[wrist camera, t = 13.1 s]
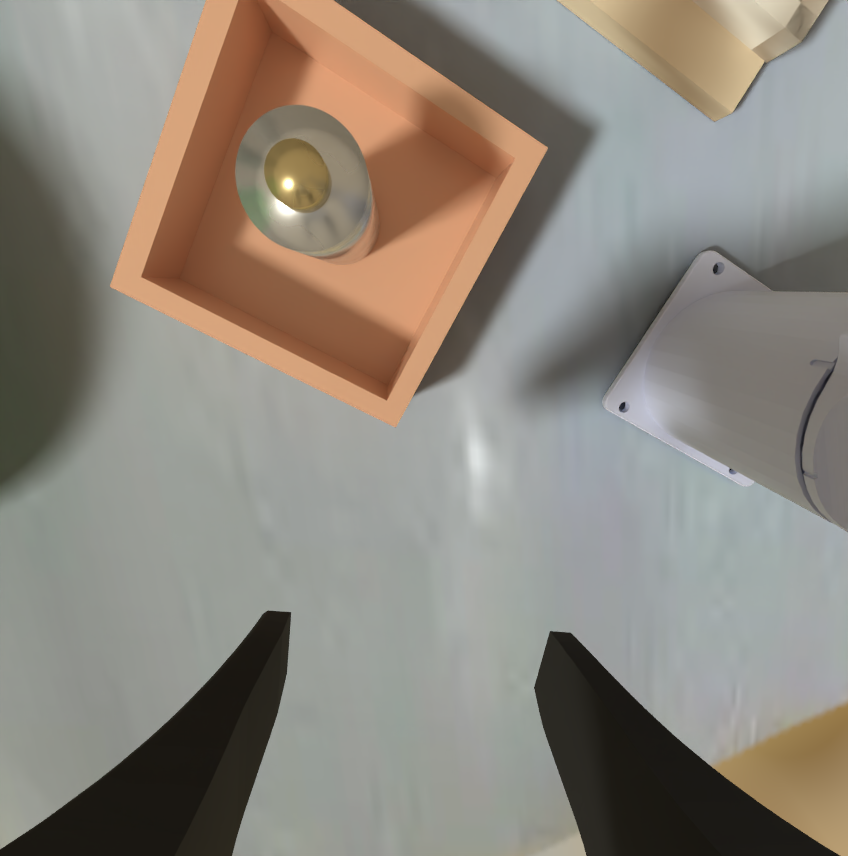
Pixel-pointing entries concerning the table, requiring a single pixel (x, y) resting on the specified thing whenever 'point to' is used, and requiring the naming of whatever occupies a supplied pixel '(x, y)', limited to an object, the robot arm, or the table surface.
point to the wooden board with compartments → (702, 41)
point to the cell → (307, 185)
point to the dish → (391, 183)
